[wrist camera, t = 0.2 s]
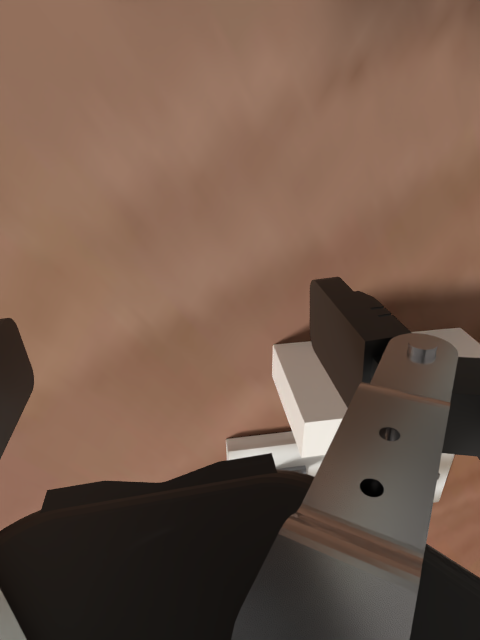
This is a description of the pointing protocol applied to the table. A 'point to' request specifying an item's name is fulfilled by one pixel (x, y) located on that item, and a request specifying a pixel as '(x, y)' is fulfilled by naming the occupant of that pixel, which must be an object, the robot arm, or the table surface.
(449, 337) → the door
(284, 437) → the cabinet side
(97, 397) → the table surface
